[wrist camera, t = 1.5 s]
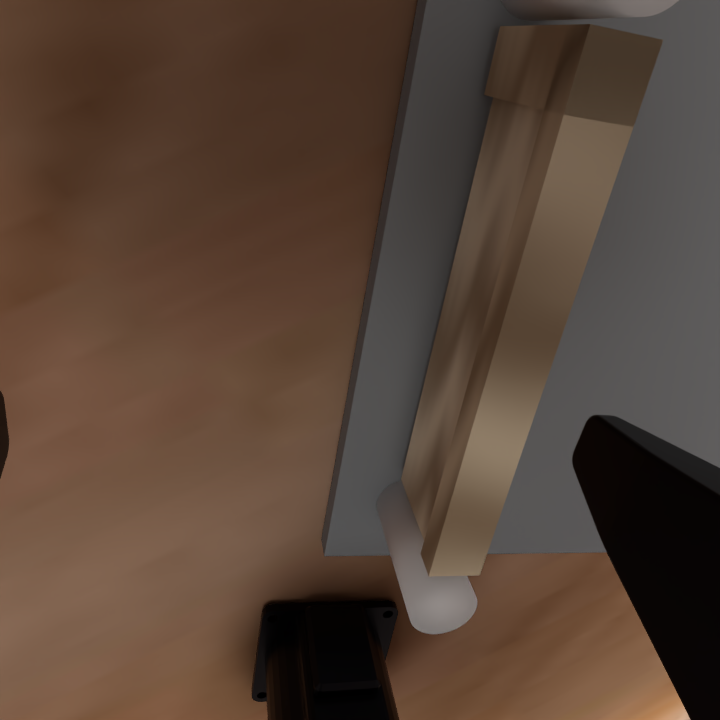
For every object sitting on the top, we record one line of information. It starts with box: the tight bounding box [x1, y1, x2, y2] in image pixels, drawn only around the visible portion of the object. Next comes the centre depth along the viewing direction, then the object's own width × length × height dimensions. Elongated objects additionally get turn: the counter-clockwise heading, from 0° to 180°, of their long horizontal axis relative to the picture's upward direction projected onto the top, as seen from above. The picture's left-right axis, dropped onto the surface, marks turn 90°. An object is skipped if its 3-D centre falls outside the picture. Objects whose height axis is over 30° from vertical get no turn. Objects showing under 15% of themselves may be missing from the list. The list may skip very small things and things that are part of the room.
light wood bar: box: [401, 24, 663, 577], centre depth 19 cm, size 16×2×5 cm, turn 170°
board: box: [321, 0, 720, 634], centre depth 21 cm, size 24×22×6 cm
